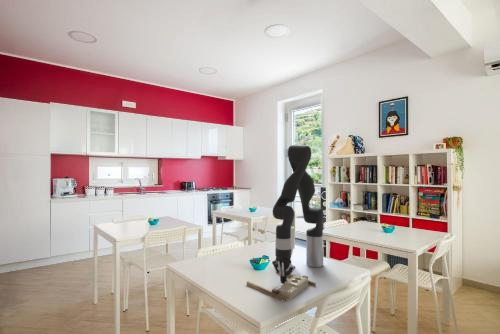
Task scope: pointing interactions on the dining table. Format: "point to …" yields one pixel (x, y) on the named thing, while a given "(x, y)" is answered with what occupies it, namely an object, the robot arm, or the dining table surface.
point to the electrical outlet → (293, 286)
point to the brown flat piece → (274, 291)
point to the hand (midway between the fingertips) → (283, 283)
